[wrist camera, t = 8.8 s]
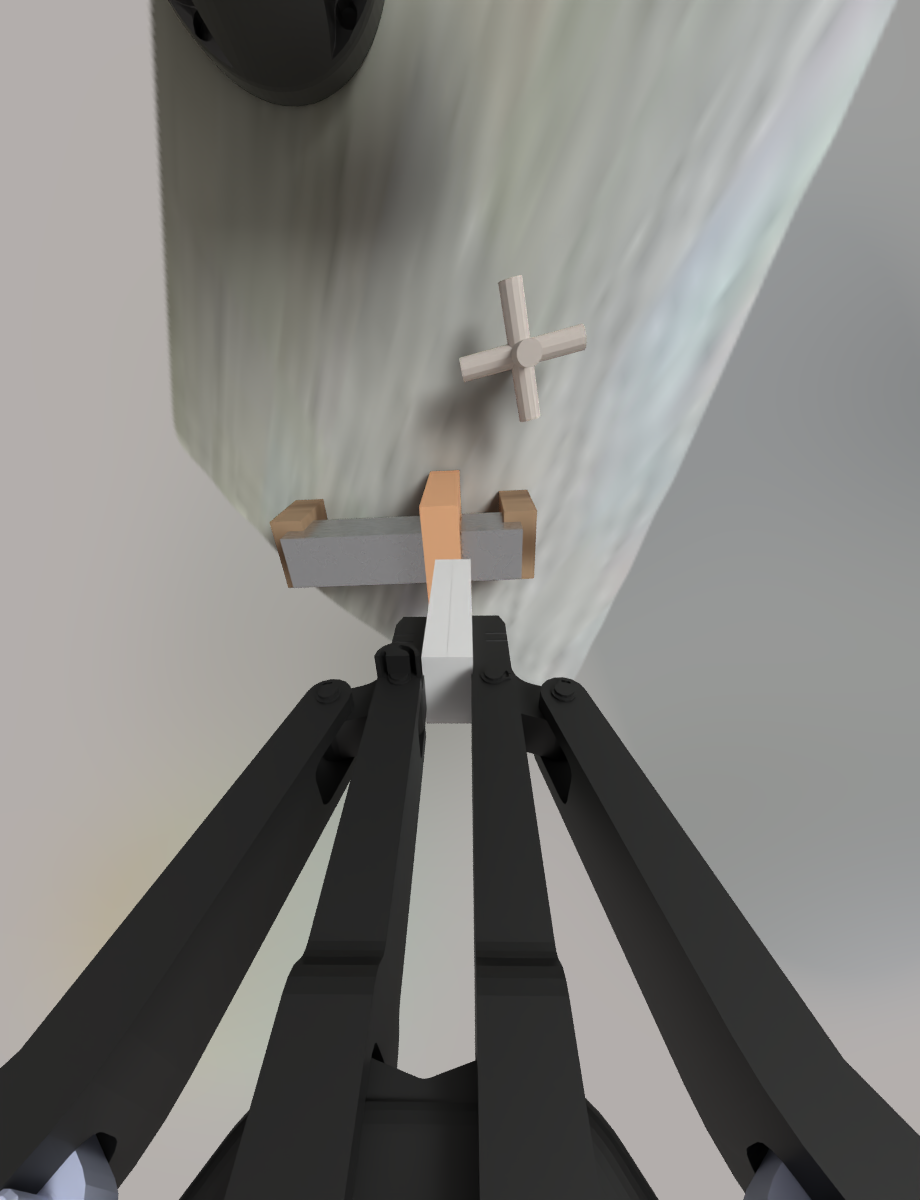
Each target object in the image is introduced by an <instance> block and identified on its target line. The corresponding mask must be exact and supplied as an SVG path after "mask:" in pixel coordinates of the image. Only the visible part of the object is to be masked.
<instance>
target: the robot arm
mask: <svg viewBox="0 0 920 1200" xmlns="http://www.w3.org/2000/svg"><path fill="white" fill-rule="evenodd" d="M169 2H170V4H171V5H172V7H173V9H174V10H175V12H176V14H177V15H178V17H179V18H180V20H181V21H182V23H183V24H184V26H185V27H186V29H187V30H188V31H189V33H190V34H191V35H192V37H193V38H194V39H195V40H196V42H197V43H198V44H199V45H200V46H201V48H202V49H203V50H204V51H205V52H206V54H207V55H208V56H209V57H210V58H211V60H212V61H213V62H214V63H215V64H216V65H217V66H218V67H219V68H220V69H221V70H222V71H223V72H224V73H225V74H226V75H227V76H228V77H229V78H230V79H231V80H232V81H234V82H235V83H236V84H237V85H239V86H240V87H242V88H243V89H244V90H246V91H248V92H249V93H251V94H253V95H255V96H257V97H259V98H261V99H263V100H266V101H268V102H272V103H275V104H280V105H286V106H301V105H308V104H312V103H315V102H318V101H320V100H323V99H325V98H327V97H329V96H330V95H332V94H333V93H335V92H336V91H337V90H339V89H340V88H341V87H342V86H343V85H344V84H345V83H346V82H347V81H348V80H349V79H350V78H351V77H352V76H353V74H354V73H355V72H356V70H357V69H358V68H359V66H360V65H361V63H362V61H363V60H364V58H365V56H366V54H367V52H368V50H369V48H370V46H371V44H372V41H373V39H374V36H375V34H376V31H377V28H378V25H379V21H380V18H381V14H382V10H383V5H384V0H169ZM375 663H376V670H377V676H378V678H377V680H375V681H374V682H372V683H370V684H367V685H364V686H360V687H356V688H351V687H350V686H349V684H348V683H346V682H345V681H342V680H335V679H330V680H327V681H322V682H320V683H318V684H316V685H314V686H313V687H312V688H311V689H310V690H308V692H307V693H306V694H305V695H304V697H303V698H302V699H301V700H300V702H299V703H298V704H297V705H296V707H295V708H294V709H293V710H292V712H291V713H290V714H289V715H288V717H287V718H286V719H285V720H284V722H283V723H282V724H281V725H280V727H279V728H278V729H277V730H276V731H275V733H274V734H273V735H272V736H271V738H270V739H269V740H268V742H267V743H266V744H265V745H264V746H263V748H262V749H261V750H260V751H259V753H258V754H257V755H256V757H255V758H254V759H253V760H252V761H251V763H250V764H249V765H248V766H247V768H246V769H245V770H244V771H243V773H242V774H241V775H240V776H239V778H238V779H237V780H236V781H235V783H234V784H233V785H232V786H231V788H230V789H229V790H228V791H227V793H226V794H225V795H224V796H223V798H222V799H221V800H220V801H219V803H218V804H217V805H216V807H215V808H214V809H213V810H212V811H211V813H210V814H209V815H208V817H207V818H206V819H205V820H204V821H203V823H202V824H201V825H200V826H199V828H198V829H197V830H196V831H195V833H194V834H193V835H192V837H191V838H190V839H189V840H188V841H187V843H186V844H185V845H184V846H183V848H182V849H181V850H180V851H179V853H178V854H177V855H176V856H175V858H174V859H173V860H172V861H171V862H170V864H169V865H168V866H167V867H166V869H165V870H164V871H163V872H162V874H161V875H160V876H159V878H158V879H157V880H156V881H155V883H154V884H153V885H152V886H151V888H150V889H149V890H148V891H147V892H146V894H145V895H144V896H143V898H142V899H141V900H140V901H139V903H138V904H137V905H136V906H135V908H134V909H133V910H132V911H131V912H130V914H129V915H128V916H127V917H126V919H125V920H124V921H123V922H122V924H121V925H120V926H119V927H118V929H117V930H116V931H115V932H114V934H113V935H112V936H111V937H110V939H109V940H108V941H107V942H106V944H105V945H104V946H103V947H102V949H101V950H100V951H99V952H98V954H97V955H96V956H95V958H94V959H93V960H92V961H91V962H90V964H89V965H88V966H87V967H86V969H85V970H84V971H83V972H82V974H81V975H80V976H79V977H78V979H77V980H76V981H75V982H74V984H73V985H72V986H71V987H70V989H69V990H68V991H67V992H66V993H65V995H64V996H63V997H62V999H61V1000H60V1001H59V1002H58V1003H57V1005H56V1006H55V1007H54V1008H53V1010H52V1011H51V1012H50V1013H49V1015H48V1016H47V1017H46V1019H45V1020H44V1021H43V1022H42V1024H41V1025H40V1026H39V1027H38V1028H37V1030H36V1031H35V1032H34V1033H33V1035H32V1036H31V1037H30V1038H29V1040H28V1041H27V1042H26V1043H25V1045H24V1046H23V1047H22V1049H21V1050H20V1051H19V1052H18V1053H16V1054H15V1055H14V1056H13V1057H12V1058H11V1059H10V1060H9V1061H8V1062H7V1063H6V1064H5V1065H3V1066H2V1067H1V1068H0V1200H118V1190H117V1189H118V1188H119V1187H120V1185H121V1184H122V1183H123V1181H124V1180H125V1179H126V1177H127V1176H128V1175H129V1173H130V1172H131V1171H132V1169H133V1168H134V1167H135V1165H136V1164H137V1162H138V1160H139V1159H140V1158H141V1156H142V1154H143V1153H144V1152H145V1150H146V1149H147V1147H148V1145H149V1144H150V1142H151V1141H152V1139H153V1138H154V1136H155V1135H156V1133H157V1132H158V1131H159V1129H160V1127H161V1126H162V1124H163V1123H164V1121H165V1120H166V1118H167V1116H168V1115H169V1113H170V1111H171V1109H172V1108H173V1106H174V1104H175V1103H176V1101H177V1099H178V1097H179V1096H180V1094H181V1092H182V1091H183V1089H184V1087H185V1085H186V1084H187V1082H188V1080H189V1078H190V1077H191V1075H192V1073H193V1071H194V1069H195V1067H196V1065H197V1063H198V1062H199V1060H200V1058H201V1056H202V1054H203V1052H204V1051H205V1049H206V1047H207V1045H208V1043H209V1041H210V1039H211V1038H212V1036H213V1034H214V1032H215V1030H216V1028H217V1027H218V1025H219V1023H220V1021H221V1019H222V1017H223V1015H224V1013H225V1012H226V1010H227V1008H228V1006H229V1004H230V1002H231V1001H232V999H233V997H234V995H235V993H236V991H237V989H238V988H239V986H240V984H241V982H242V980H243V978H244V976H245V975H246V973H247V971H248V969H249V967H250V965H251V963H252V962H253V960H254V958H255V956H256V954H257V952H258V951H259V949H260V947H261V945H262V943H263V941H264V939H265V938H266V936H267V934H268V932H269V930H270V928H271V926H272V925H273V922H274V921H275V919H276V917H277V915H278V913H279V911H280V909H281V908H282V906H283V904H284V902H285V900H286V898H287V897H288V895H289V893H290V891H291V889H292V887H293V886H294V884H295V882H296V880H297V878H298V876H299V874H300V873H301V871H302V869H303V867H304V865H305V863H306V861H307V859H308V857H309V856H310V854H311V852H312V850H313V848H314V847H315V845H316V843H317V841H318V839H319V837H320V835H321V834H322V832H323V830H324V828H325V826H326V824H327V822H328V821H329V819H330V817H331V815H332V813H333V811H334V809H335V807H336V806H337V804H338V802H339V800H340V798H341V796H342V795H343V793H344V791H345V789H346V787H347V785H348V783H349V782H350V784H349V788H348V792H347V796H346V800H345V803H344V807H343V811H342V815H341V818H340V822H339V826H338V830H337V834H336V837H335V841H334V845H333V849H332V853H331V856H330V860H329V864H328V868H327V871H326V875H325V879H324V883H323V887H322V891H321V895H320V898H319V902H318V906H317V909H316V913H315V917H314V921H313V925H312V928H311V933H310V936H309V940H308V943H307V946H306V949H305V952H304V954H303V956H302V957H301V958H300V959H299V960H298V961H297V962H296V963H295V964H294V966H293V968H292V970H291V972H290V974H289V976H288V978H287V981H286V985H285V987H284V990H283V993H282V996H281V1000H280V1003H279V1007H278V1011H277V1014H276V1018H275V1021H274V1025H273V1028H272V1032H271V1035H270V1039H269V1042H268V1046H267V1050H266V1054H265V1057H264V1060H263V1064H262V1067H261V1071H260V1074H259V1078H258V1082H257V1085H256V1089H255V1092H254V1096H253V1099H252V1103H251V1106H250V1110H249V1111H248V1112H247V1113H246V1114H245V1115H244V1116H243V1118H242V1119H241V1120H240V1121H239V1122H238V1123H237V1124H236V1125H235V1126H234V1128H233V1129H232V1130H231V1131H230V1133H229V1134H228V1135H227V1137H226V1138H225V1139H224V1141H223V1142H222V1143H221V1145H220V1146H219V1147H218V1149H217V1150H216V1151H215V1153H214V1154H213V1155H212V1156H211V1158H210V1159H209V1161H208V1162H207V1163H206V1164H205V1166H204V1167H203V1168H202V1170H201V1171H200V1172H199V1174H198V1175H197V1177H196V1178H195V1179H194V1181H193V1182H192V1183H191V1184H190V1186H189V1187H188V1189H187V1190H186V1191H185V1192H184V1194H183V1195H182V1197H181V1198H180V1199H179V1200H658V1198H657V1197H656V1195H655V1193H654V1192H653V1190H652V1189H651V1187H650V1186H649V1184H648V1182H647V1181H646V1179H645V1178H644V1176H643V1175H642V1173H641V1172H640V1170H639V1169H638V1167H637V1165H636V1164H635V1162H634V1161H633V1159H632V1157H631V1156H630V1154H629V1153H628V1151H627V1150H626V1148H625V1146H624V1145H623V1143H622V1142H621V1140H620V1139H619V1138H618V1136H617V1135H616V1133H615V1131H614V1130H613V1129H612V1128H611V1126H610V1125H609V1124H608V1123H607V1121H606V1120H605V1119H604V1118H603V1116H602V1115H601V1114H600V1113H599V1111H598V1110H597V1109H596V1108H595V1107H593V1105H592V1104H591V1103H590V1102H589V1101H588V1100H587V1099H586V1098H585V1094H584V1088H583V1081H582V1075H581V1069H580V1062H579V1056H578V1050H577V1044H576V1037H575V1031H574V1024H573V1018H572V1012H571V1005H570V999H569V993H568V988H567V982H566V978H565V974H564V970H563V967H562V965H561V963H560V961H559V959H558V956H557V952H556V948H555V941H554V934H553V927H552V921H551V914H550V907H549V900H548V894H547V887H546V880H545V873H544V867H543V860H542V853H541V846H540V840H539V834H538V826H537V820H536V813H535V806H534V799H533V792H532V786H531V779H530V772H529V766H528V759H527V752H529V753H533V754H534V756H535V759H536V761H537V764H538V766H539V768H540V771H541V773H542V775H543V777H544V779H545V781H546V784H547V786H548V788H549V790H550V792H551V794H552V797H553V799H554V801H555V803H556V806H557V807H558V810H559V812H560V814H561V816H562V819H563V821H564V823H565V825H566V827H567V830H568V832H569V834H570V836H571V838H572V840H573V842H574V845H575V847H576V849H577V851H578V854H579V856H580V858H581V860H582V862H583V865H584V867H585V869H586V871H587V873H588V875H589V877H590V880H591V882H592V884H593V886H594V888H595V891H596V893H597V895H598V897H599V899H600V902H601V904H602V906H603V908H604V910H605V912H606V915H607V917H608V919H609V921H610V924H611V925H612V928H613V930H614V932H615V934H616V937H617V939H618V941H619V943H620V945H621V947H622V949H623V952H624V954H625V956H626V958H627V960H628V963H629V965H630V967H631V969H632V972H633V974H634V976H635V978H636V980H637V983H638V984H639V987H640V989H641V991H642V993H643V996H644V998H645V1000H646V1002H647V1004H648V1006H649V1009H650V1011H651V1013H652V1015H653V1017H654V1019H655V1022H656V1024H657V1026H658V1028H659V1031H660V1033H661V1035H662V1037H663V1039H664V1041H665V1044H666V1046H667V1048H668V1050H669V1052H670V1055H671V1057H672V1059H673V1061H674V1063H675V1065H676V1067H677V1069H678V1072H679V1074H680V1076H681V1079H682V1081H683V1083H684V1085H685V1087H686V1089H687V1091H688V1093H689V1095H690V1097H691V1099H692V1101H693V1103H694V1105H695V1107H696V1109H697V1111H698V1113H699V1115H700V1117H701V1119H702V1121H703V1123H704V1125H705V1127H706V1129H707V1131H708V1132H709V1134H710V1136H711V1138H712V1139H713V1141H714V1143H715V1145H716V1146H717V1148H718V1150H719V1151H720V1153H721V1155H722V1157H723V1158H724V1160H725V1162H726V1163H727V1165H728V1167H729V1169H730V1170H731V1172H732V1174H733V1176H734V1177H735V1179H736V1180H737V1181H738V1183H739V1184H740V1186H741V1187H742V1189H743V1191H744V1192H745V1196H744V1199H743V1200H920V1136H919V1135H918V1134H917V1133H916V1132H915V1131H914V1130H913V1129H912V1128H911V1127H910V1126H909V1125H908V1124H907V1123H906V1122H905V1121H904V1120H903V1119H902V1118H901V1117H900V1116H899V1115H898V1114H897V1113H896V1112H895V1111H894V1110H893V1108H891V1107H890V1106H889V1104H887V1102H886V1101H885V1100H884V1099H883V1098H882V1097H881V1096H880V1095H879V1094H878V1093H876V1091H875V1090H874V1089H873V1088H872V1087H871V1086H870V1085H869V1084H868V1083H867V1082H866V1081H865V1080H864V1079H863V1078H862V1077H861V1076H860V1075H859V1074H858V1073H857V1072H856V1071H855V1070H854V1069H853V1068H852V1067H851V1066H850V1065H849V1064H848V1063H847V1062H846V1061H845V1060H844V1059H843V1057H842V1056H841V1054H840V1053H839V1052H838V1050H837V1049H836V1047H835V1046H834V1044H833V1043H832V1042H831V1040H830V1039H829V1037H828V1036H827V1035H826V1033H825V1032H824V1030H823V1029H822V1027H821V1026H820V1024H819V1023H818V1022H817V1020H816V1019H815V1017H814V1016H813V1014H812V1013H811V1011H810V1010H809V1009H808V1007H807V1006H806V1004H805V1003H804V1001H803V1000H802V999H801V997H800V996H799V994H798V993H797V991H796V990H795V989H794V987H793V986H792V984H791V983H790V981H789V980H788V979H787V977H786V976H785V974H784V973H783V971H782V970H781V969H780V967H779V966H778V964H777V963H776V961H775V960H774V959H773V957H772V956H771V954H770V953H769V952H768V950H767V949H766V947H765V946H764V944H763V943H762V942H761V940H760V939H759V937H758V936H757V935H756V933H755V932H754V930H753V929H752V927H751V926H750V924H749V923H748V921H747V920H746V919H745V917H744V916H743V914H742V913H741V911H740V910H739V909H738V907H737V906H736V904H735V903H734V901H733V900H732V899H731V897H730V896H729V894H728V893H727V891H726V890H725V889H724V887H723V886H722V884H721V883H720V881H719V880H718V879H717V877H716V876H715V875H714V873H713V871H712V870H711V869H710V867H709V866H708V864H707V863H706V861H705V860H704V859H703V857H702V856H701V854H700V853H699V851H698V850H697V849H696V847H695V846H694V844H693V843H692V841H691V840H690V838H689V837H688V836H687V835H686V833H685V831H684V830H683V828H682V827H681V826H680V824H679V823H678V821H677V820H676V818H675V817H674V816H673V814H672V813H671V811H670V810H669V809H668V807H667V806H666V804H665V803H664V802H663V800H662V799H661V797H660V796H659V794H658V793H657V792H656V790H655V788H654V787H653V786H652V784H651V783H650V782H649V780H648V778H647V777H646V776H645V774H644V773H643V771H642V770H641V768H640V767H639V766H638V764H637V763H636V761H635V760H634V758H633V757H632V756H631V754H630V753H629V751H628V750H627V749H626V747H625V746H624V744H623V743H622V741H621V740H620V738H619V737H618V736H617V734H616V733H615V731H614V730H613V728H612V727H611V726H610V724H609V723H608V721H607V720H606V718H605V717H604V716H603V714H602V713H601V711H600V710H599V708H598V707H597V706H596V704H595V703H594V701H593V700H592V698H591V697H590V696H589V694H588V693H587V691H586V690H585V689H584V688H583V687H582V686H581V685H580V684H579V683H577V682H575V681H574V680H572V679H567V678H563V677H562V678H552V679H549V680H547V681H546V682H545V683H543V684H542V686H538V685H534V684H530V683H527V682H525V681H523V680H521V679H519V678H518V677H517V676H516V675H515V674H514V672H513V671H512V668H511V662H510V655H509V648H508V641H507V634H506V627H505V623H504V622H503V621H502V619H501V618H500V617H499V616H472V599H471V559H440V560H435V565H434V572H433V579H432V586H431V593H430V600H429V607H428V614H427V617H403V619H402V620H401V621H400V622H399V623H398V624H397V625H396V628H395V632H394V636H393V640H392V643H391V644H388V645H386V646H383V647H382V648H381V649H379V650H378V651H377V653H376V654H375ZM426 721H427V723H472V798H473V799H472V803H473V877H474V878H473V881H474V884H473V885H474V955H475V956H474V958H475V959H474V962H475V965H474V966H475V1058H476V1059H475V1061H473V1062H470V1063H468V1064H465V1065H463V1066H460V1067H457V1068H455V1069H452V1070H449V1071H447V1072H444V1073H441V1074H439V1075H436V1076H434V1077H431V1078H428V1079H421V1078H418V1077H415V1076H413V1075H410V1074H408V1073H406V1072H403V1071H401V1070H399V1069H397V1060H398V1047H399V1046H398V1045H399V1007H400V995H401V985H402V975H403V965H404V955H405V944H406V935H407V924H408V913H409V904H410V894H411V884H412V873H413V863H414V853H415V843H416V833H417V823H418V812H419V802H420V792H421V782H422V772H423V762H424V752H425V741H426V731H425V722H426Z"/></svg>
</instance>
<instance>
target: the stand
mask: <svg viewBox="0 0 920 1200" xmlns="http://www.w3.org/2000/svg"><path fill="white" fill-rule="evenodd" d="M499 512H502V515H503V519H504V522H521V525H522V528H523V543H522V578H521V579H529V578H534V565H535V542H536V520H537V510H536V507H535V505H534V503H533V501H532V499H531V497H530V495H529V493H528V491H527V490H514V491H499ZM313 520H328V519H327V515H326V510H325V505H324V501H323V499H316V500H296V501H295V502H293V503H292V504H291V505H290V506H289V507H287V508H286V509H285V510H284V511H282V512H281V513H280V514H279V515H278V516H276V517H275V518H274V519H273V520H272V521H270V525H271V529H272V532H273V536H274V539H275V543H276V546H277V549H278V553H279V556H280V560H281V563H282V567H283V570H284V574H285V577H286V580H287V584H288V587H289V588H293V584H292V580H291V577H290V573H289V570H288V566H287V563H286V559H285V556H284V552H283V548H282V545H281V541H280V539H281V538H282V537H283V536H284V535H285V534H286V533H287V532H289V531H304V530H305V529H306V528H307V527H308V526H309V525H310V524H311V523H312V521H313Z"/></svg>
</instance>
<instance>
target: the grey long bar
mask: <svg viewBox="0 0 920 1200" xmlns="http://www.w3.org/2000/svg"><path fill="white" fill-rule="evenodd" d="M459 527H460V546H461V559H471V581H484V580H510V579H521V578H522V543H523V528H522V525H521V522H504V519H503V515H502V512H493V513H470V514H462V520H460V525H459ZM280 541H281V545H282V548H283V552H284V556H285V559H286V563H287V566H288V570H289V573H290V577H291V580H292V584H293V588H302V587H328V586H354V585H380V584H406V583H427V581H426V571H425V561H424V551H423V541H422V531H421V521H420V516H402V517H379V518H356V519H333V520H313V521H312V523H311V524H310V525H309V526H308V527H307V528H306V529H305V530H304V531H289V532H287V533H286V534H285V535H284V536H283V537H282V538H281V539H280Z"/></svg>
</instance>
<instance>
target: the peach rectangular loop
mask: <svg viewBox="0 0 920 1200" xmlns="http://www.w3.org/2000/svg"><path fill="white" fill-rule="evenodd" d="M419 511H420V521H421V531H422V541H423V551H424V561H425V571H426V581H427V591H428V601H429V600H430V593H431V586H432V579H433V572H434V565H435V560H440V559H461V546H460V527H459V525H460V520H462V517H461V496H460V476H459V470H452V471H431V472H430V474H429V477H428V480H427V483H426V487H425V490H424V493H423V496H422V499H421V503H420V506H419Z"/></svg>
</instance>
